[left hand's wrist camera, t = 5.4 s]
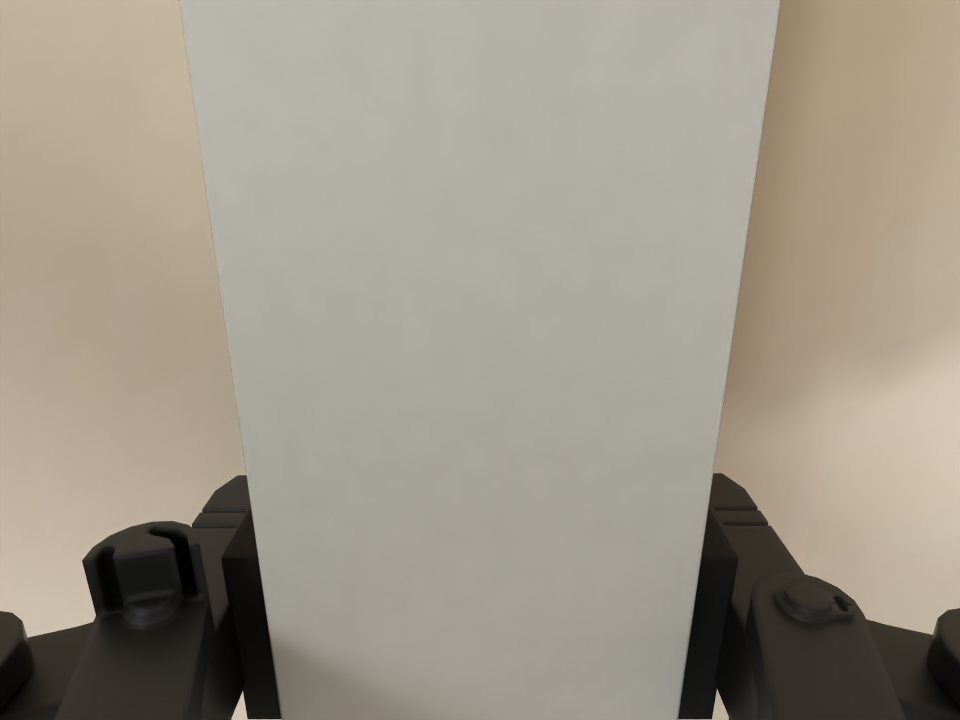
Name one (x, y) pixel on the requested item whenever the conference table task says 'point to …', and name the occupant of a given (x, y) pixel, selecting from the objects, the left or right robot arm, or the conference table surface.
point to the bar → (479, 335)
